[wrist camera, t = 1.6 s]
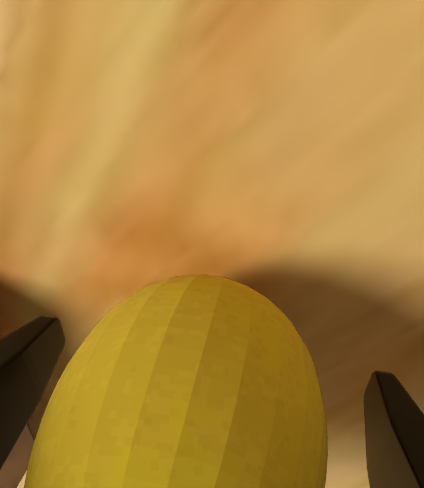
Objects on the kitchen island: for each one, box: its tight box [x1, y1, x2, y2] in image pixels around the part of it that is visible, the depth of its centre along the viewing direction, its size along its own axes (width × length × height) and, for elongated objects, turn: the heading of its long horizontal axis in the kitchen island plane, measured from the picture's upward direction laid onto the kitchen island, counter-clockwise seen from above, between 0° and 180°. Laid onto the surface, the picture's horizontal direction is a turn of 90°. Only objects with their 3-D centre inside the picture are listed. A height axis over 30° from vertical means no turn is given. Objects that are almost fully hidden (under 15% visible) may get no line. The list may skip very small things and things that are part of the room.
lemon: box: [24, 275, 328, 488], centre depth 8 cm, size 6×6×8 cm
